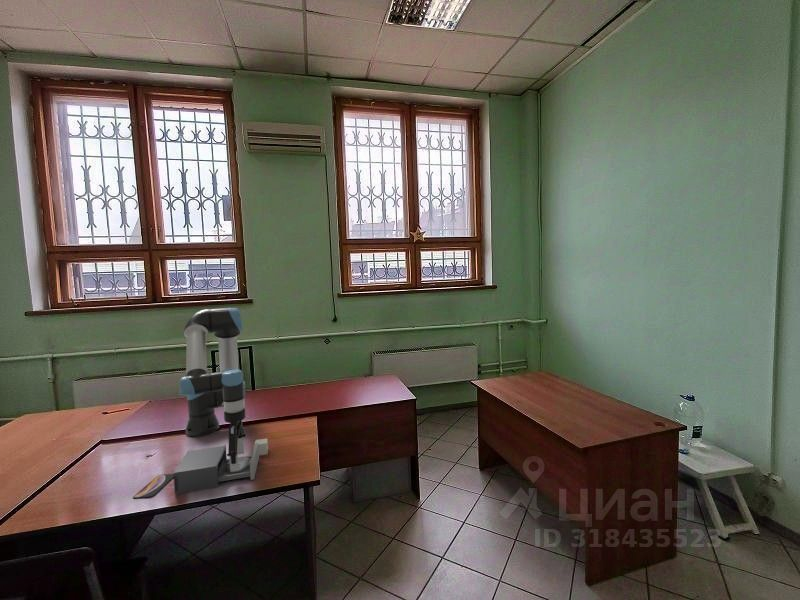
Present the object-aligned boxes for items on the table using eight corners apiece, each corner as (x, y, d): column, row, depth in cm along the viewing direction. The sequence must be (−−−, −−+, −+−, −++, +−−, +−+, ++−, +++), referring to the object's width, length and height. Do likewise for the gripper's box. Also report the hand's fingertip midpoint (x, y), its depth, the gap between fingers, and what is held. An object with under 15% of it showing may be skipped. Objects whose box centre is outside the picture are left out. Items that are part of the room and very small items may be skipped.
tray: (223, 463, 146) (222, 448, 145) (258, 458, 149) (258, 443, 149) (214, 486, 130) (212, 469, 129) (254, 479, 133) (253, 462, 133)
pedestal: (256, 450, 157) (255, 440, 156) (268, 449, 158) (267, 438, 158) (254, 456, 152) (254, 445, 152) (267, 454, 153) (266, 443, 153)
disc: (251, 459, 145) (251, 455, 145) (248, 471, 137) (248, 466, 136) (228, 463, 143) (227, 459, 143) (223, 475, 134) (223, 470, 134)
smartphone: (131, 498, 124) (157, 474, 139) (131, 500, 124) (158, 476, 139) (152, 496, 124) (177, 473, 139) (153, 498, 124) (177, 475, 139)
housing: (189, 469, 142) (188, 450, 142) (227, 463, 146) (225, 445, 146) (175, 494, 126) (173, 472, 125) (217, 486, 130) (216, 466, 129)
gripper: (230, 400, 149) (233, 448, 150) (216, 423, 125) (220, 480, 126) (249, 398, 151) (252, 446, 152) (239, 420, 127) (243, 476, 128)
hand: (237, 461), depth 139 cm, fingers open, 13 cm apart
